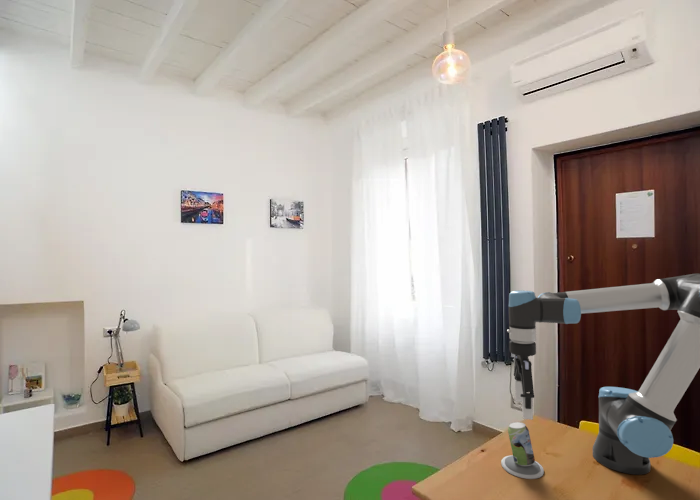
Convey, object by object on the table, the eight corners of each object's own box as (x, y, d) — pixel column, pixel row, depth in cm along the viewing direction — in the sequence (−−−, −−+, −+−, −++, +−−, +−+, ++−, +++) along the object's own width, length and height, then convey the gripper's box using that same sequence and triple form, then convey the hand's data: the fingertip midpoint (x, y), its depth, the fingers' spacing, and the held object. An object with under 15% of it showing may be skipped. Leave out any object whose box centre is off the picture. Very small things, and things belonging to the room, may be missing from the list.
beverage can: (537, 469, 116) (535, 429, 116) (511, 468, 117) (510, 427, 118) (531, 459, 122) (530, 420, 123) (507, 457, 123) (505, 419, 124)
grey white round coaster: (539, 460, 124) (539, 457, 124) (547, 481, 112) (547, 478, 112) (499, 454, 127) (499, 451, 127) (503, 475, 115) (503, 472, 115)
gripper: (504, 332, 133) (505, 393, 132) (515, 350, 108) (517, 425, 108) (527, 333, 131) (529, 395, 130) (544, 351, 106) (546, 428, 106)
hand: (523, 409), depth 119 cm, fingers open, 13 cm apart
